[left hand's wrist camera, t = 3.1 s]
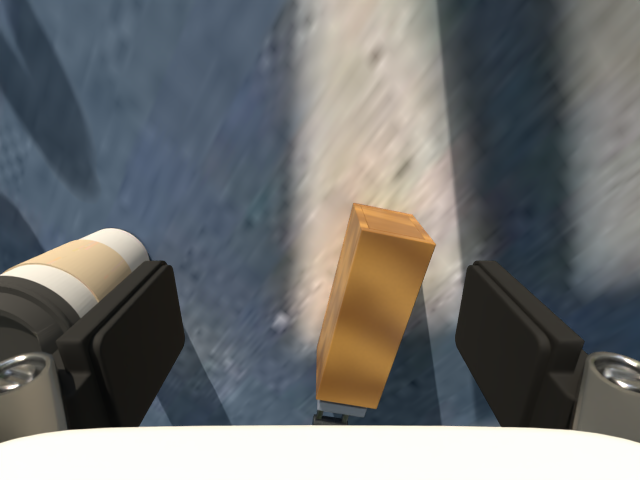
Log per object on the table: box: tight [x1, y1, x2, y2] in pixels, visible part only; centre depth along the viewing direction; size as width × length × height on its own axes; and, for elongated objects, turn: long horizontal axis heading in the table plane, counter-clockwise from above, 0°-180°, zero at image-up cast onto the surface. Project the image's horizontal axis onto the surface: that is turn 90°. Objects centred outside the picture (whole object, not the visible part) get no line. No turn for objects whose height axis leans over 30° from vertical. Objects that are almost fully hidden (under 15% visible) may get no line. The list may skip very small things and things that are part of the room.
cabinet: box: [316, 203, 436, 409], centre depth 35 cm, size 18×6×8 cm, turn 168°
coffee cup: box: [0, 228, 149, 362], centre depth 30 cm, size 9×9×15 cm
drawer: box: [312, 400, 367, 426], centre depth 37 cm, size 23×5×6 cm, turn 168°
